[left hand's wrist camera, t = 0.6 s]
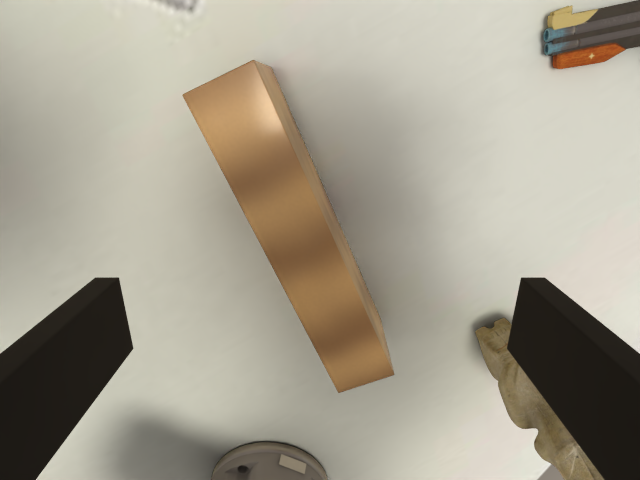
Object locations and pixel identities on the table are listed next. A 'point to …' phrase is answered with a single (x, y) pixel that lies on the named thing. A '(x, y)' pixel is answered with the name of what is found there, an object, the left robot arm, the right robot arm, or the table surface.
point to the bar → (292, 219)
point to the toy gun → (591, 34)
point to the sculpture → (532, 407)
